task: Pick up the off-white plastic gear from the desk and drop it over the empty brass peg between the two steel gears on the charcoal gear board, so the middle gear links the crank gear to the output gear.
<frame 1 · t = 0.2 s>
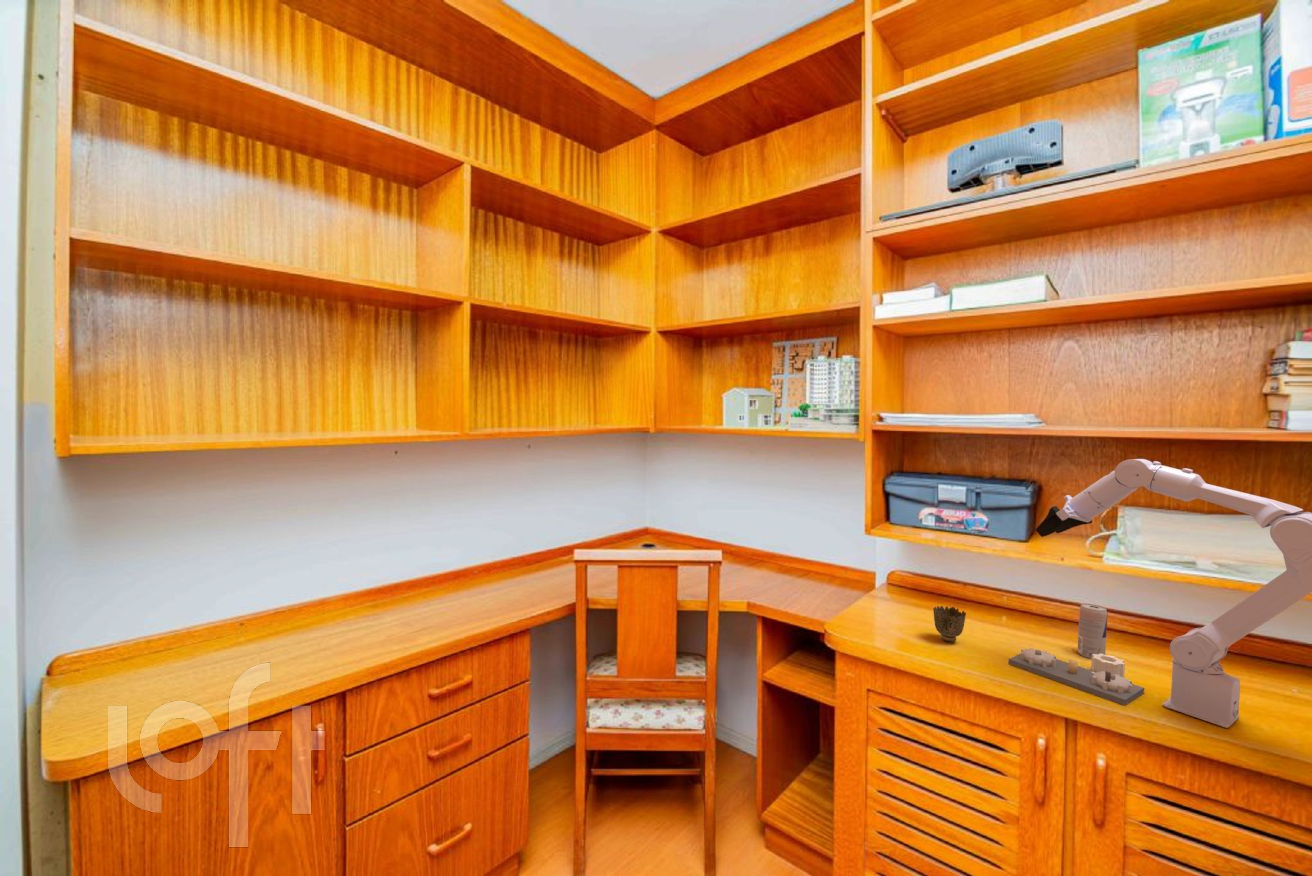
hand: (1046, 531, 134), 31 cm above the worktop, tool tilted 45°, fingers open, 7 cm apart
cup: (948, 641, 145), on the worktop
loose gear: (1107, 672, 128), on the worktop
energy drink: (1091, 656, 137), on the worktop
gear board: (1072, 677, 125), on the worktop
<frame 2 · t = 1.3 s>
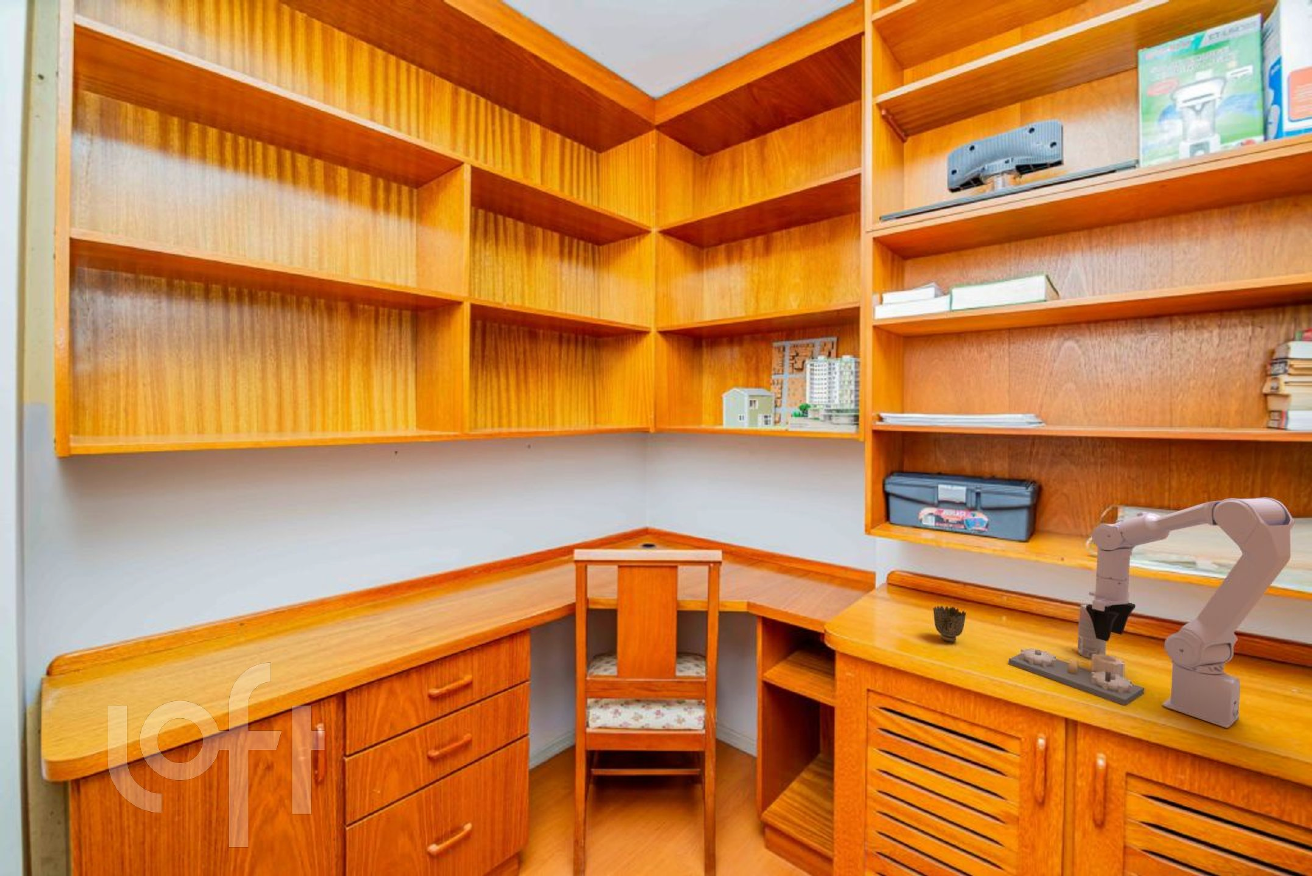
hand: (1109, 636, 127), 8 cm above the worktop, tool pointing down, fingers open, 7 cm apart
nothing on the worktop moved.
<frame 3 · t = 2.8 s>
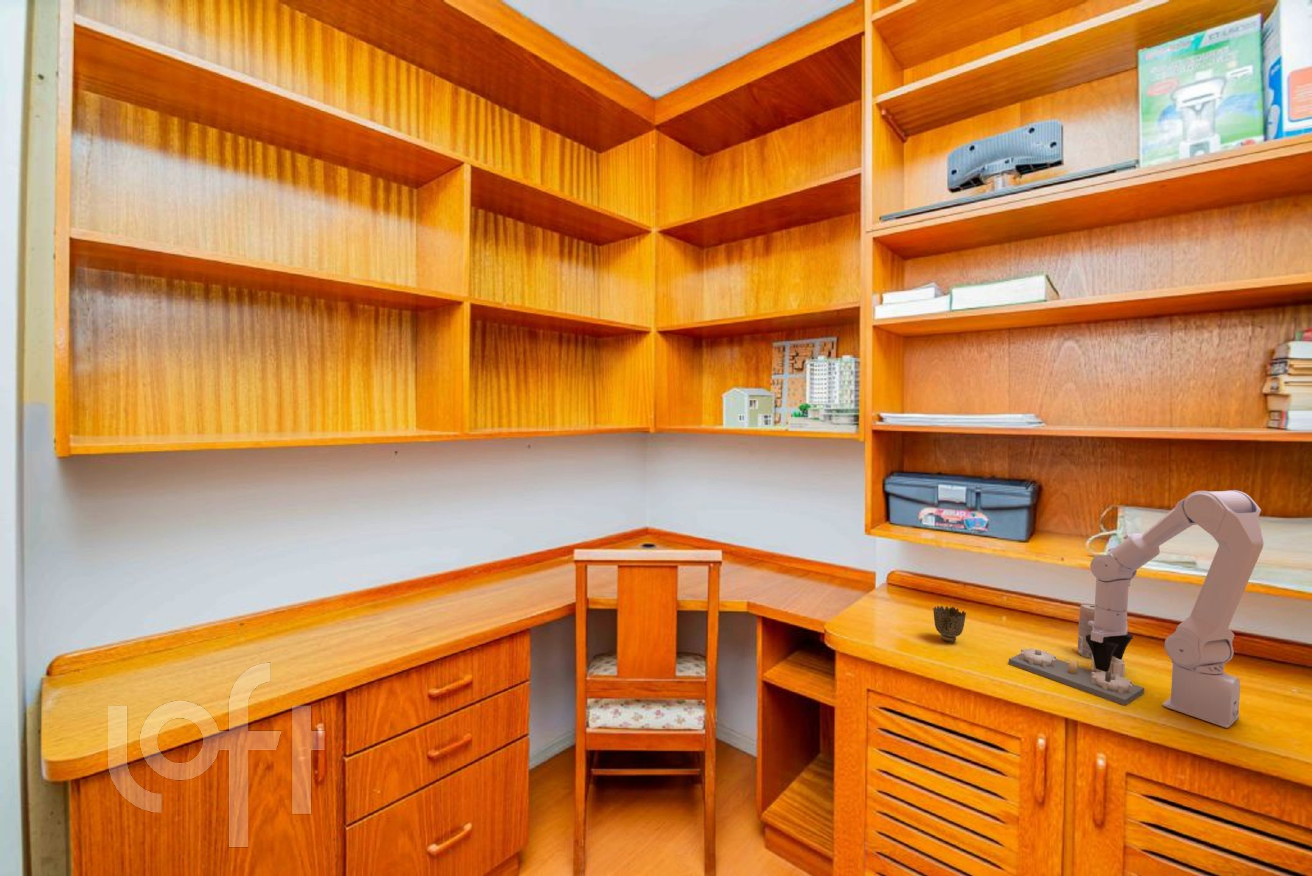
hand: (1107, 666, 128), 1 cm above the worktop, tool pointing down, fingers closed on loose gear, 6 cm apart
loose gear: (1107, 672, 128), on the worktop, touching gripper
everything else where it was.
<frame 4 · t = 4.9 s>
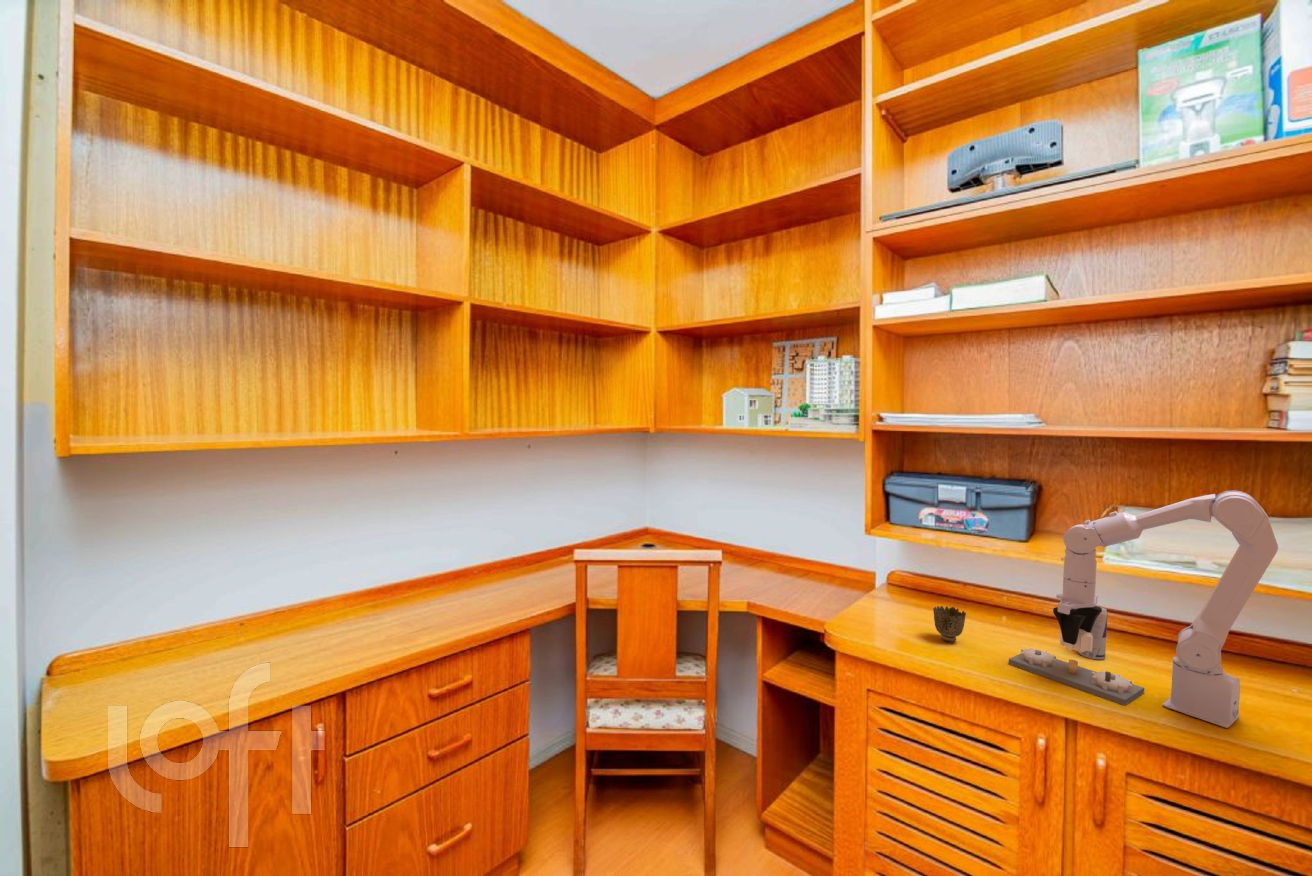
hand: (1076, 639, 125), 8 cm above the worktop, tool pointing down, fingers closed on loose gear, 6 cm apart
loose gear: (1075, 646, 125), point 7 cm above the worktop, touching gripper
everything else where it was.
when the fingers open (4 cm above the worktop, at t = 7.1 s): loose gear drops 1 cm, resting on gear board.
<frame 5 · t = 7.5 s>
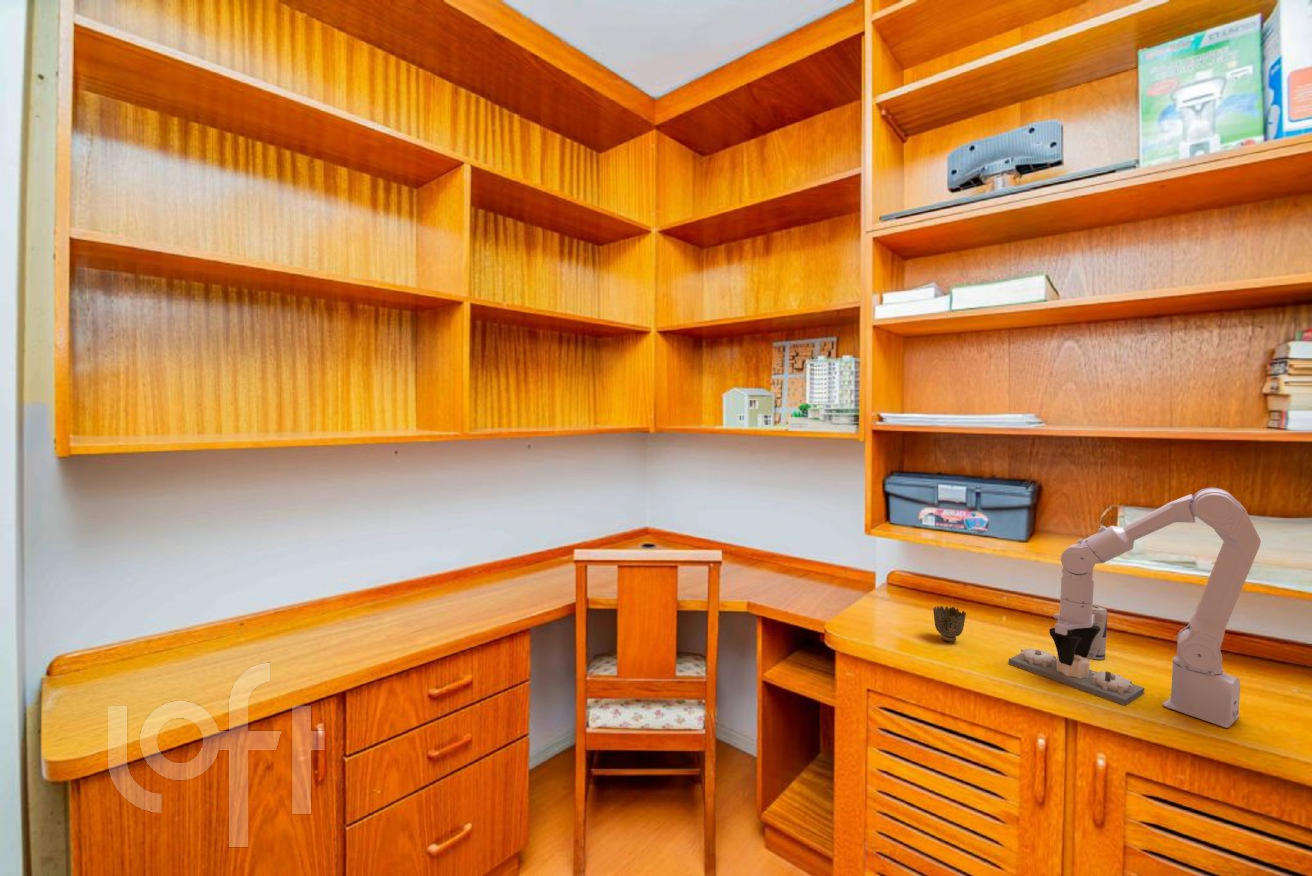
hand: (1073, 659, 125), 4 cm above the worktop, tool pointing down, fingers open, 7 cm apart
loose gear: (1072, 672, 125), point 1 cm above the worktop, touching gear board
everything else where it was.
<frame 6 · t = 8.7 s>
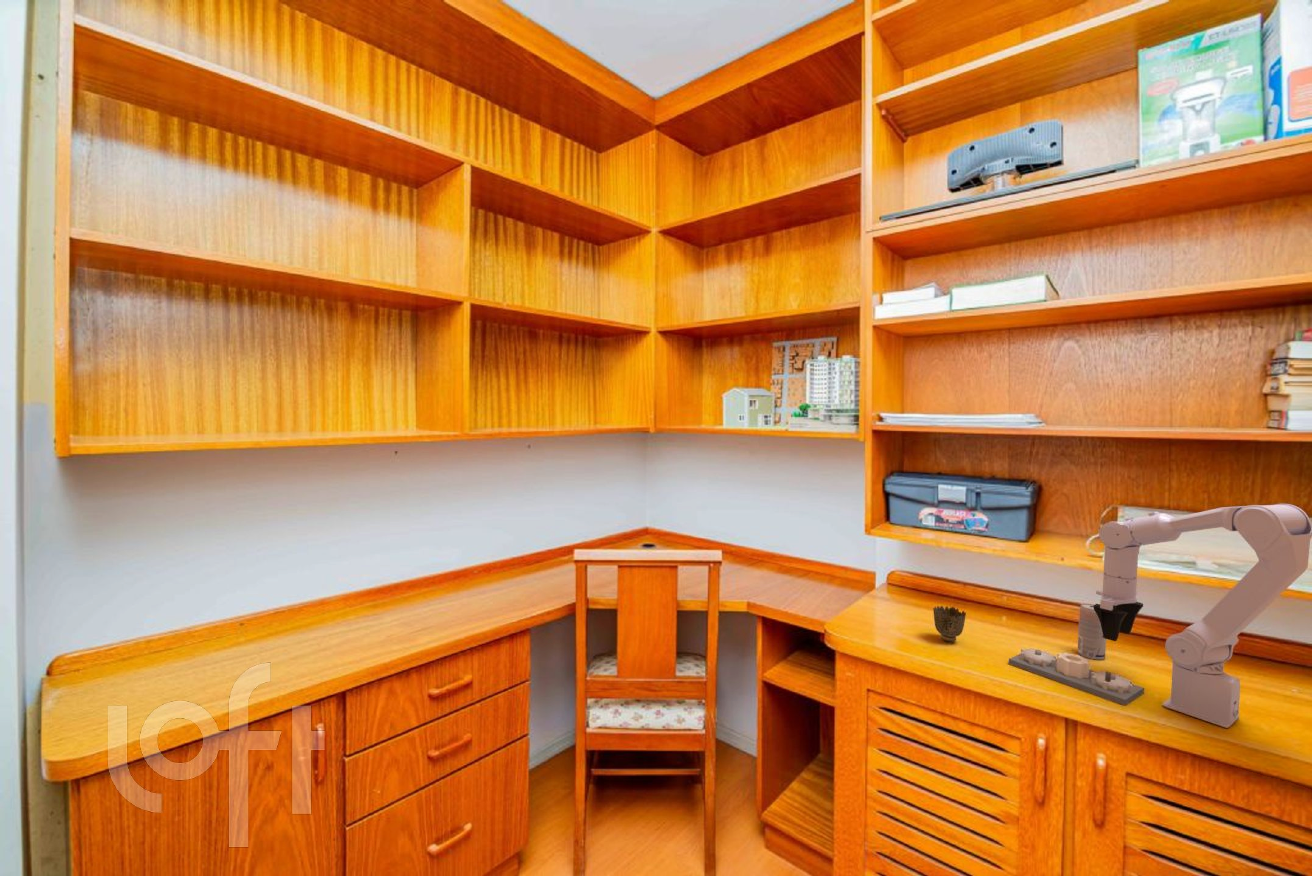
hand: (1117, 636, 125), 9 cm above the worktop, tool pointing down, fingers open, 7 cm apart
nothing on the worktop moved.
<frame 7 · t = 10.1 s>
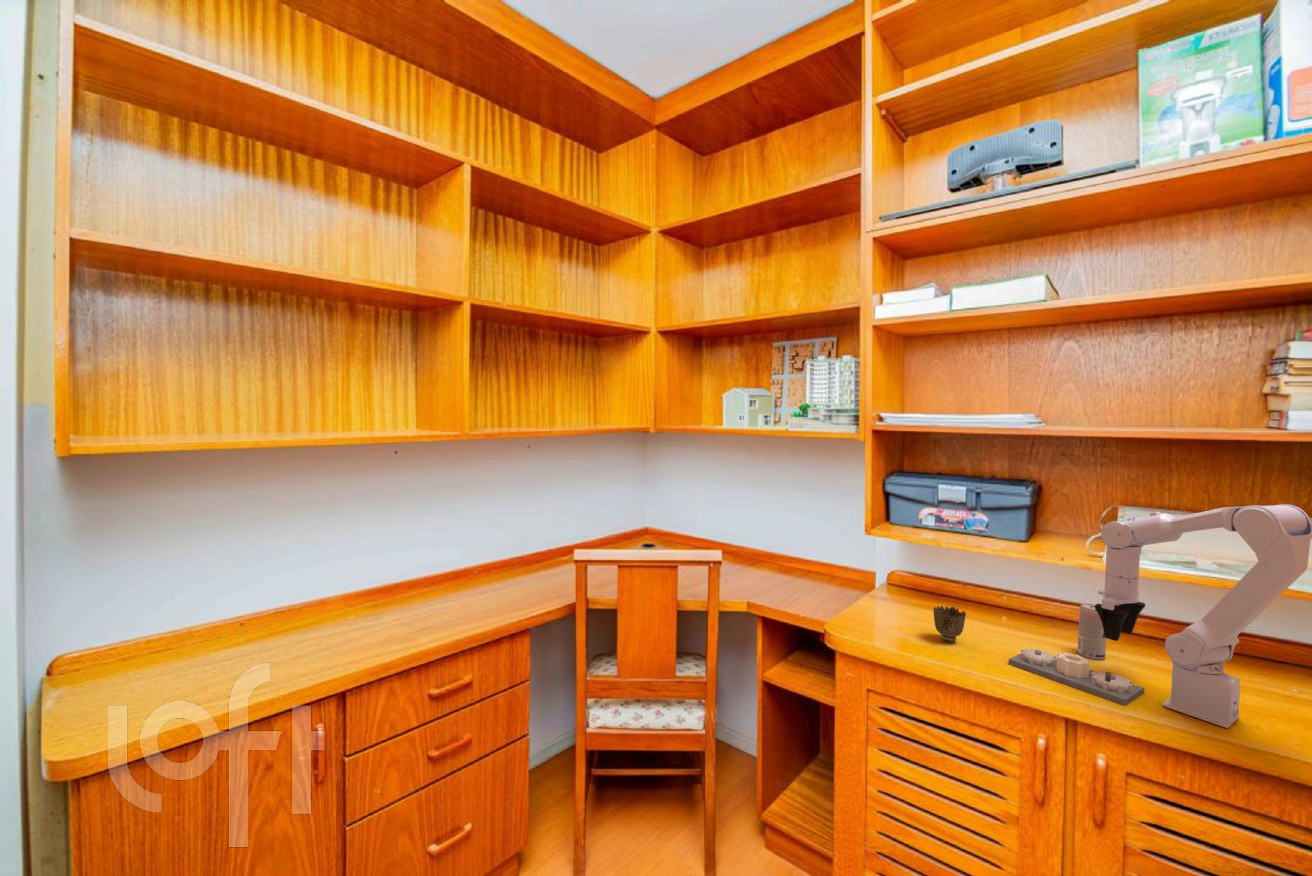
hand: (1118, 635, 125), 9 cm above the worktop, tool pointing down, fingers open, 7 cm apart
nothing on the worktop moved.
at the end: loose gear 0.0 cm off-centre on the gear board, point 1.2 cm above the gear board's base; loose gear tilted 0°; the gripper is holding nothing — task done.
